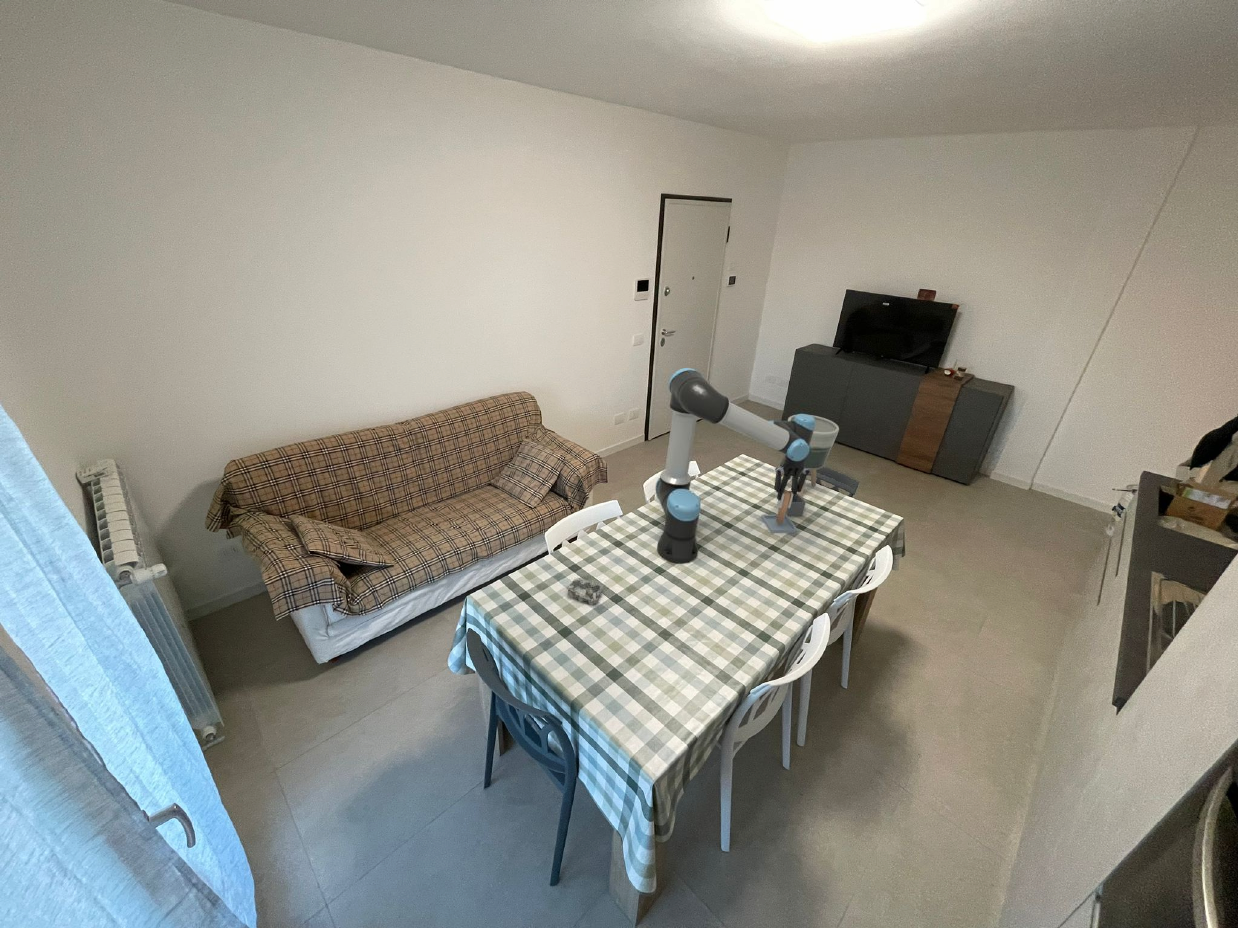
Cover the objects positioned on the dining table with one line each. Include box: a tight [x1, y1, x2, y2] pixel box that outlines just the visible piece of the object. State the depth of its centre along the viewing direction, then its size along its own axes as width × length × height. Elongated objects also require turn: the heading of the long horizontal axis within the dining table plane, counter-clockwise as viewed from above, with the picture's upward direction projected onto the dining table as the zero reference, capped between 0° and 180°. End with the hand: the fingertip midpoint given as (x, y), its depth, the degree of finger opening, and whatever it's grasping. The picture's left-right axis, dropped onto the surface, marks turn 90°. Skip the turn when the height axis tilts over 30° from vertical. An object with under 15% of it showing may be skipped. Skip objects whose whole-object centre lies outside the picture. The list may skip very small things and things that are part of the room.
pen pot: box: [785, 493, 806, 518], centre depth 211 cm, size 7×7×8 cm
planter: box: [781, 414, 840, 499], centre depth 226 cm, size 22×22×33 cm
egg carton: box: [566, 577, 604, 606], centre depth 160 cm, size 11×8×4 cm
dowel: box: [776, 489, 791, 524], centre depth 199 cm, size 3×3×14 cm
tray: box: [760, 514, 799, 534], centre depth 203 cm, size 11×11×2 cm
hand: (783, 506), depth 199 cm, fingers closed on dowel, 3 cm apart
